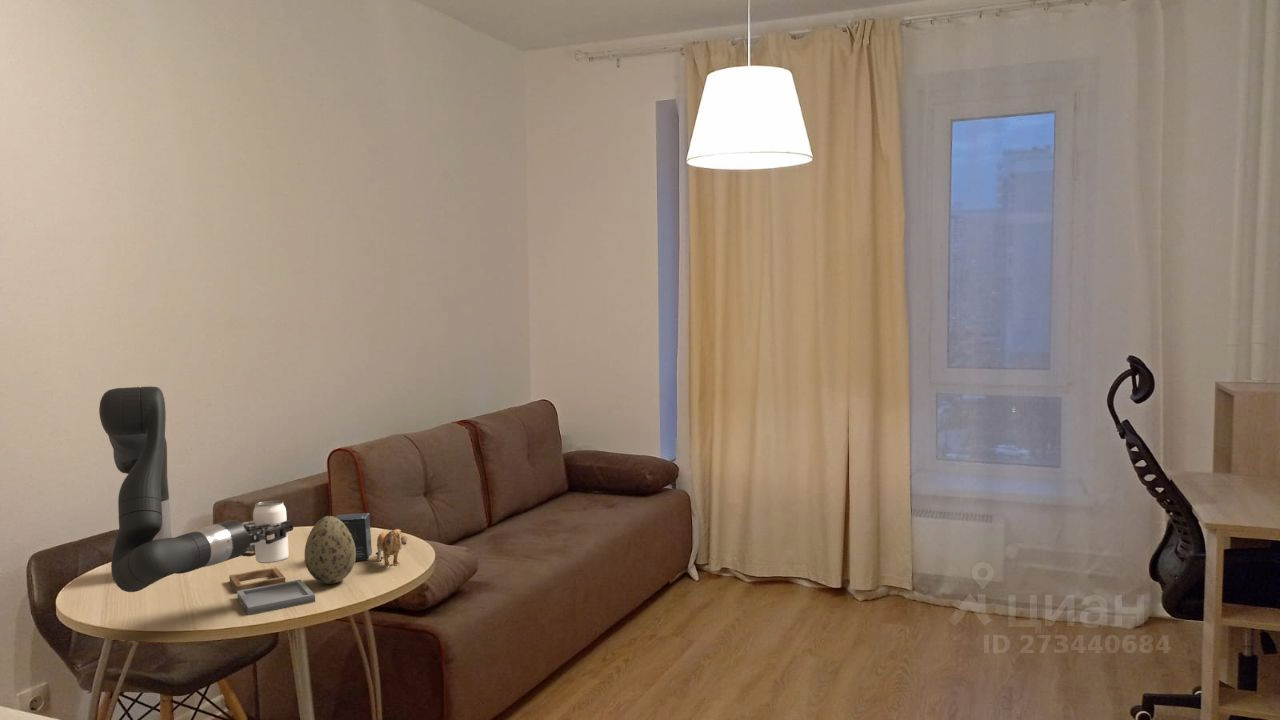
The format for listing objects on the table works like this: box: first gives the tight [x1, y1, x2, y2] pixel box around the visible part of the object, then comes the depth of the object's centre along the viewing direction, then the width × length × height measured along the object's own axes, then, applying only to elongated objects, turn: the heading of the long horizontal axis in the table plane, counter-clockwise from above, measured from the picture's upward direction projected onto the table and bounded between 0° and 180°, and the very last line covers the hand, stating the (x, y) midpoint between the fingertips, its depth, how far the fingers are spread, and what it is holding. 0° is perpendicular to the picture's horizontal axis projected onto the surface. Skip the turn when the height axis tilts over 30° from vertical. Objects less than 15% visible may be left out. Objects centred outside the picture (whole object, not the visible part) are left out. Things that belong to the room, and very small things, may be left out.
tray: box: [236, 579, 316, 616], centre depth 194 cm, size 13×13×2 cm
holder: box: [228, 566, 286, 593], centre depth 206 cm, size 10×10×2 cm
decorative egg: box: [304, 515, 356, 585], centre depth 204 cm, size 11×11×15 cm
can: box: [252, 499, 290, 564], centre depth 193 cm, size 6×6×12 cm
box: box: [335, 512, 373, 561], centre depth 223 cm, size 8×6×11 cm
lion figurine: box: [375, 528, 409, 567], centre depth 219 cm, size 15×5×9 cm, turn 39°
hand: (280, 523), depth 195 cm, fingers closed on can, 5 cm apart
